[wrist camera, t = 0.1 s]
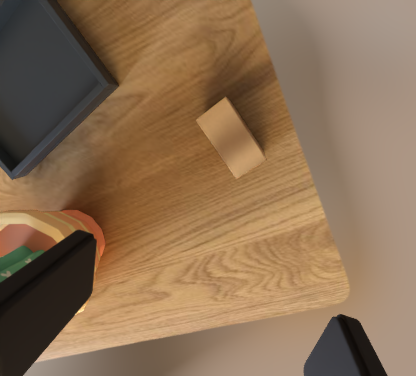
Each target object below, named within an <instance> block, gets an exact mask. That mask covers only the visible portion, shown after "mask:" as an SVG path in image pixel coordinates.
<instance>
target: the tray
mask: <svg viewBox="0 0 416 376" xmlns="http://www.w3.org/2000/svg"><path fill="white" fill-rule="evenodd" d="M118 86H119V85H118V84H117V82H116V81H115V80H114V78H113V77H112V76H111V74H110V73H109V71H108V70H107V69H106V67H105V66H104V65H103V63H102V62H101V61H100V59H99V58H98V56H97V55H96V54H95V52H94V51H93V50H92V48H91V47H90V46H89V44H88V43H87V42H86V40H85V39H84V37H83V36H82V35H81V33H80V32H79V31H78V29H77V28H76V27H75V25H74V24H73V22H72V21H71V20H70V18H69V17H68V16H67V14H66V13H65V12H64V10H63V9H62V7H61V6H60V5H59V3H58V2H57V1H56V0H0V167H1V168H2V169H3V170H4V171H5V172H6V173H7V175H8V176H9V177H10V178H11V179H12V180H13V179H16V178H20V177H23V176H26V175H27V174H28V173H29V172H30V171H31V170H32V169H33V168H34V167H35V166H36V165H37V164H38V163H40V162H41V161H42V160H43V159H44V158H45V157H46V156H47V155H48V154H49V153H50V152H51V151H52V150H53V149H54V148H55V147H56V146H57V145H58V144H59V143H60V142H61V141H62V140H63V139H64V138H65V137H67V136H68V135H69V134H70V133H71V132H72V131H73V130H74V129H75V128H76V127H77V126H78V125H79V124H80V123H81V122H82V121H83V120H84V119H85V118H86V117H87V116H88V115H89V114H90V113H91V112H92V111H94V110H95V109H96V108H97V107H98V106H99V105H100V104H101V103H102V102H103V101H104V100H105V99H106V98H107V97H108V96H109V95H110V94H111V93H112V92H113V91H114V90H115V89H116V88H117V87H118Z"/></svg>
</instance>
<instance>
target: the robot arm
mask: <svg viewBox="0 0 416 376" xmlns="http://www.w3.org/2000/svg"><path fill="white" fill-rule="evenodd" d="M96 246H97V240H96V239H95V238H94V235H93V234H92V233H89V232H86V231H83V230H76V231H74V232H73V233H72V234H70V235H69V236H67V237H66V238H64V239H63V240H61V241H60V242H59V243H57V244H56V245H54V246H53V247H51V248H50V249H48V250H47V251H45V252H44V253H43V254H41V255H40V256H38V257H37V258H35V259H34V260H32V261H31V262H29V263H28V264H27V265H25V266H24V267H22V268H21V269H19V270H18V271H16V272H15V273H13V274H12V275H11V276H9V277H8V278H6V279H5V280H3V281H2V282H0V376H23V375H24V374H25V372H26V371H27V370H28V369H29V368H30V367H31V365H32V364H33V363H34V362H35V361H36V360H37V358H38V357H39V356H40V355H41V354H42V353H43V351H44V350H45V349H46V348H47V347H48V346H49V344H50V343H51V342H52V341H53V340H54V339H55V337H56V336H57V335H58V334H59V333H60V332H61V330H62V329H63V328H64V327H65V326H66V325H67V324H68V322H69V321H70V320H71V319H72V318H73V317H74V315H75V314H76V313H77V312H78V311H79V310H80V308H81V307H82V306H83V305H84V304H85V303H86V301H87V300H88V299H89V297H90V296H91V294H92V290H93V280H94V269H95V258H96ZM304 376H387V374H386V372H385V370H384V368H383V366H382V364H381V362H380V360H379V358H378V356H377V355H376V352H375V350H374V349H373V347H372V345H371V343H370V341H369V339H368V337H367V335H366V333H365V331H364V329H363V327H362V325H361V323H360V322H359V321H358V320H357V319H354V318H351V317H348V316H345V315H342V314H340V315H337V317H332V319H331V320H330V322H329V323H328V325H327V327H326V329H325V330H324V332H323V334H322V336H321V337H320V339H319V340H318V342H317V344H316V346H315V347H314V349H313V351H312V352H311V354H310V356H309V357H308V359H307V361H306V363H305V365H304Z"/></svg>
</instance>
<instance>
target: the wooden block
mask: <svg viewBox="0 0 416 376" xmlns="http://www.w3.org/2000/svg"><path fill="white" fill-rule="evenodd" d="M196 122H197V123H198V125H199V126H200V127H201V129H202V130H203V132H204V133H205V135H206V136H207V138H208V139H209V140H210V142H211V143H212V145H213V146H214V148H215V149H216V150H217V152H218V153H219V155H220V156H221V158H222V159H223V161H224V162H225V163H226V165H227V166H228V168H229V169H230V171H231V172H232V174H233V175H234V176H235V178H236V179H237V178H239V177H240V176H242V175H244V174H245V173H247V172H248V171H250V170H251V169H253V168H255V167H256V166H258V165H259V164H261V163H263V162H264V161H266V160H267V159H266V156H265V153H264V151H263V149H262V148H261V146H260V145H259V143H258V142H257V140H256V139H255V137H254V136H253V134H252V133H251V131H250V129H249V128H248V126H247V125H246V123H245V122H244V120H243V119H242V117H241V116H240V114H239V113H238V111H237V110H236V108H235V107H234V105H233V103H232V102H231V100H230V99H228V98H226V97H224V98H223V99H222V100H221V101H219V102H218V103H217V104H215V105H214V106H213V107H212V108H210V109H209V110H208V111H206V112H205V113H204V114H203V115H201V116H200V117H199V118H197V119H196Z"/></svg>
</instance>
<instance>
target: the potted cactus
mask: <svg viewBox="0 0 416 376" xmlns="http://www.w3.org/2000/svg"><path fill="white" fill-rule="evenodd" d="M76 230H83V231H86V232H89V233H92V234H93V235H94V238H95V239H96V240H97V246H96V258H95V269H94V280H93V287H94V284H95V281H96V275H95V273H96V270H97V267H98V264H99V261H100V256H102V253H103V250H104V247H105V244H106V243H105V239H104V235H103V232H102V229H101V228H100V227H99V226H98V224H97V223H96V222H95V221H94V219H93V218H92V217H90V216H88V215H86V214H84V213H82V212H80V211H78V210H62V211H61V212H60V211H41V212H40V211H38V210H9V211H4V212H0V282H2V281H3V280H5V279H6V278H8V277H9V276H11V275H12V274H13V273H15V272H16V271H18V270H19V269H21V268H22V267H24V266H25V265H27V264H28V263H29V262H31V261H32V260H34V259H35V258H37V257H38V256H40V255H41V254H43V253H44V252H45V251H47V250H48V249H50V248H51V247H53V246H54V245H56V244H57V243H59V242H60V241H61V240H63V239H64V238H66V237H67V236H69V235H70V234H72V233H73V232H74V231H76ZM89 299H90V297H89ZM89 299H88V300H87V301H86V303H85V304H84V305H83V306H82V307H81V308H80V310H79V311H78V312H77V313H76V314H78V313H80V312H81V311H83V310H84V308H85V307H86V305H87V303H88V301H89ZM76 314H75V315H76Z"/></svg>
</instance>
